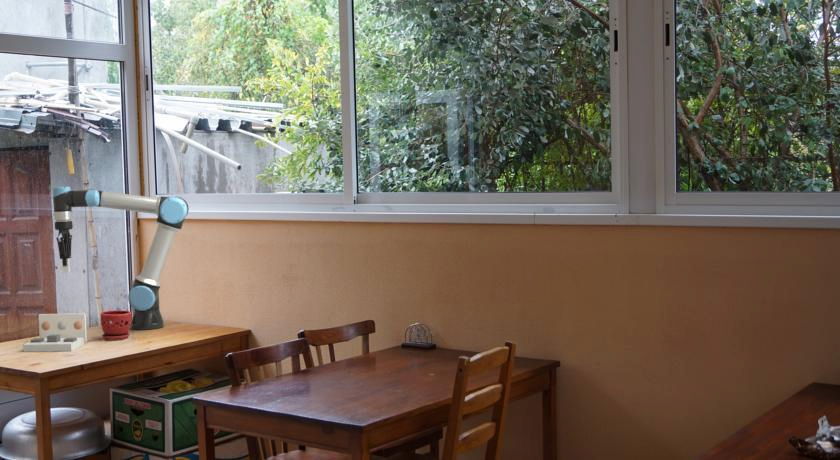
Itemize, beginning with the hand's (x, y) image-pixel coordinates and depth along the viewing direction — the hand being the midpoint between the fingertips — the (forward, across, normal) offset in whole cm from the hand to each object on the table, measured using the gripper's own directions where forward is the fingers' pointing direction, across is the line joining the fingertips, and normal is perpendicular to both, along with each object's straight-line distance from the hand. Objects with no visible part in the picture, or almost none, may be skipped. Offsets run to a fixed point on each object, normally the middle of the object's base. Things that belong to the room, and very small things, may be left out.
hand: (66, 272), depth 422 cm
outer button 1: (+28, +29, +11) cm, 42 cm away
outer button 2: (+28, +29, -3) cm, 40 cm away
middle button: (+26, +29, +4) cm, 39 cm away
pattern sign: (+29, +19, +4) cm, 35 cm away
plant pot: (+29, +9, +24) cm, 39 cm away
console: (+29, +29, +4) cm, 41 cm away
